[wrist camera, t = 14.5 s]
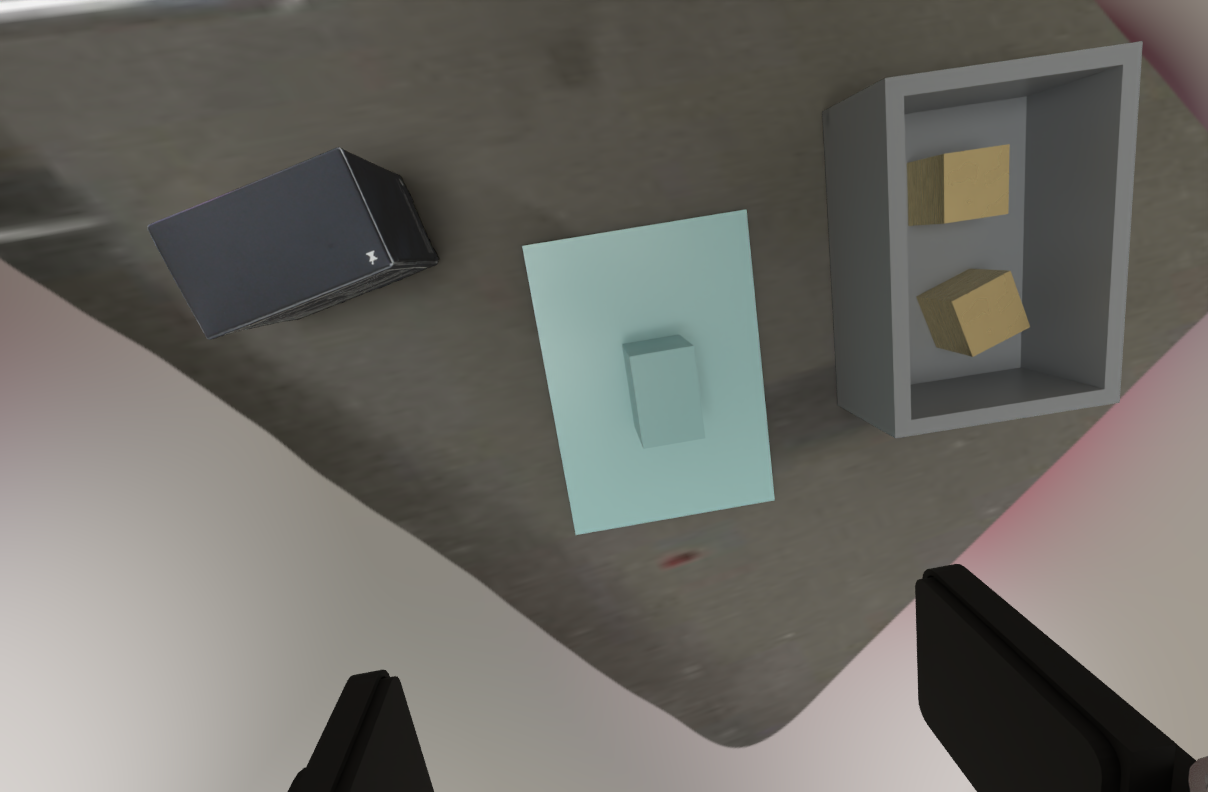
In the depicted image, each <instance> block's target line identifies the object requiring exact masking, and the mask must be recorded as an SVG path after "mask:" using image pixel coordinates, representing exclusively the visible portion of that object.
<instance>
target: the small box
mask: <svg viewBox="0 0 1208 792" xmlns="http://www.w3.org/2000/svg"><path fill="white" fill-rule="evenodd" d="M148 230H149V232H150V235H151V237H152V239H153V241H154V243H155V245H156V247H157V249H158V250H159V252H160V254H161V256H162V258H163V260H164V261H165V263H166V265H167V267H168V269H169V270H170V272H171V274H172V276H173V278H174V280H175V282H176V284H177V285H178V287H179V289H180V290H181V292H182V294H183V296H184V298H185V300H186V302H187V304H188V305H189V307H190V309H191V311H192V313H193V314H194V316H195V318H196V320H197V321H198V323H199V325H200V327H201V329H202V331H203V332H204V334H205V336H206V338H207V339H215V338H218V337H220V336H224V335H227V334H230V333H233V332H237V331H241V330H245V329H251V328H255V327H260V326H264V325H269V324H274V323H279V322H284V321H291V320H298V319H301V318H303V317H305V316H308V315H311V314H314V313H316V312H319V311H321V310H324V309H326V308H329V307H331V306H334V305H336V304H339V303H343V302H345V301H347V300H349V299H352V298H354V297H357V296H360V295H362V294H364V293H367V292H370V291H372V290H375V289H378V288H382V287H383V286H386V285H389V284H390V283H392V282H395V281H399V280H401V279H403V278H406V277H408V276H411V275H413V274H415V273H417V272H420V271H422V270H424V269H427V268H429V267H432V266H435V265H437V263H438V260H439V258H438V257H437V254H436V252H435V250H434V249H433V248H432V246H431V244H430V239H428V237H427V234H426V232H425V230H424V227H423V225H422V224H421V221H420V219H419V216H418V213H417V212H416V209H415V207H414V205H413V200H412V198H411V195H410V194H409V192H408V190H407V188H406V186H405V185H404V183H403V181H402V178H401V177H400V175H397V174H395V173H393V172H390V171H388V170H386V169H384V168H382V167H379V166H377V165H375V164H373V163H371V162H368V161H367V160H364V159H362V158H360V157H358V156H356V155H354V154H351V153H349V152H347V151H345V150H343V149H342V148H340V147H338V148H334V149H332V150H330V151H327V152H325V153H323V154H320V155H318V156H315V157H313V158H311V159H308V160H306V161H303V162H301V163H299V164H296V165H294V166H291V167H289V168H286V169H284V170H282V171H279V172H277V173H274V174H272V175H270V176H267V177H265V178H262V179H260V180H257V181H255V182H253V183H250V184H248V185H245V186H243V187H240V188H238V189H236V190H233V191H231V192H228V193H226V194H223V195H221V196H218V197H216V198H213V199H211V200H209V201H206V202H204V203H201V204H199V205H196V206H194V207H191V208H189V209H186V210H184V211H181V212H179V213H176V214H174V215H171V216H169V217H166V218H164V219H161V220H159V221H156V222H154V223H151V224H149V225H148Z"/></svg>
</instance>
